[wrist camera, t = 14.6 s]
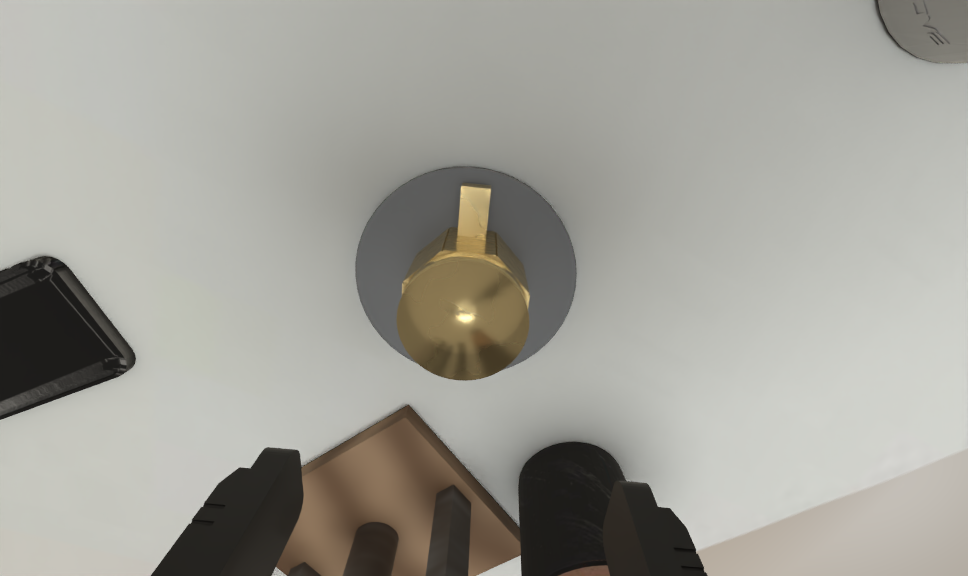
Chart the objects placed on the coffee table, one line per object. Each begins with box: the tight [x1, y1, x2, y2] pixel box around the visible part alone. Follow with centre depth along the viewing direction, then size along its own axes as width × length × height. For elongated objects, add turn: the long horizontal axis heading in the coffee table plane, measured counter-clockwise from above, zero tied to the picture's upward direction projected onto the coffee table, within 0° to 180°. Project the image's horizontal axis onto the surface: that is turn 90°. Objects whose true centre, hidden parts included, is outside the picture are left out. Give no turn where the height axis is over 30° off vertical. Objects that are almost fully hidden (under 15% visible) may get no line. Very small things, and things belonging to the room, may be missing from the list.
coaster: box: [356, 167, 576, 370], centre depth 25 cm, size 12×12×1 cm
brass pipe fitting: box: [396, 183, 530, 380], centre depth 22 cm, size 11×6×5 cm, turn 174°
